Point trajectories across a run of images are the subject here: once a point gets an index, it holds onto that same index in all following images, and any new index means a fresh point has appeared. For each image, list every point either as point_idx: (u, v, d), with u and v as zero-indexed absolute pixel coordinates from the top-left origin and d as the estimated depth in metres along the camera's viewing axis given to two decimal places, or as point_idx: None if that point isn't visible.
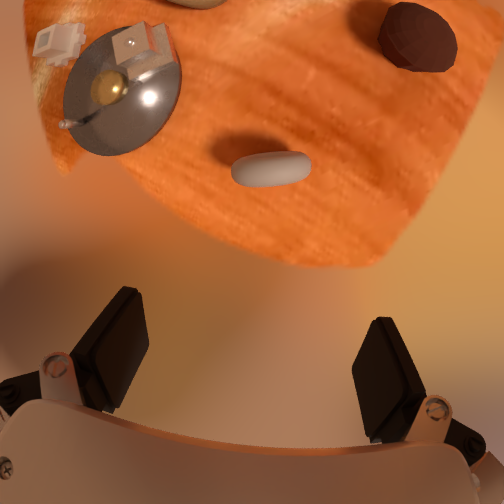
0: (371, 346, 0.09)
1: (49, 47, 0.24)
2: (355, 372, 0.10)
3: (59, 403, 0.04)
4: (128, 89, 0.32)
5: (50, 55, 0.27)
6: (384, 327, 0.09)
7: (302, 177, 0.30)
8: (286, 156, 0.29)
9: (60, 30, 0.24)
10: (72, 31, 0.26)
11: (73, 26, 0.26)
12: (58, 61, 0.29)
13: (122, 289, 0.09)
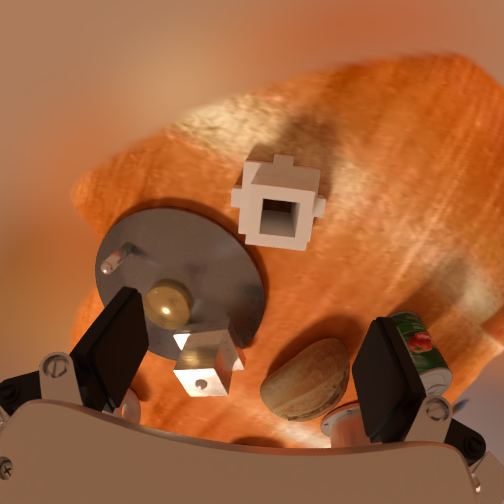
0: (371, 346, 0.09)
1: (248, 241, 0.22)
2: (355, 372, 0.10)
3: (59, 403, 0.04)
4: None
5: None
6: (384, 327, 0.09)
7: None
8: None
9: None
10: None
11: None
12: (239, 199, 0.26)
13: (122, 289, 0.09)
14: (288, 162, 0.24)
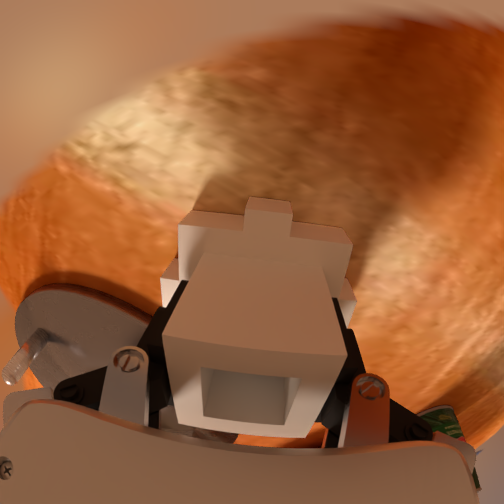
0: None
1: (184, 421, 0.09)
2: None
3: (59, 403, 0.04)
4: None
5: None
6: None
7: None
8: None
9: None
10: None
11: None
12: None
13: (182, 282, 0.10)
14: (279, 226, 0.10)
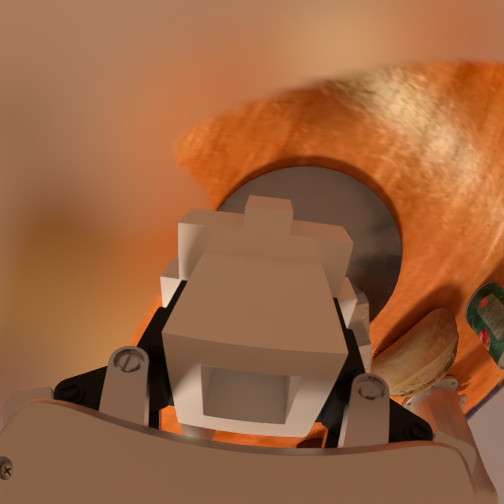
0: None
1: (184, 420, 0.09)
2: None
3: (59, 403, 0.04)
4: None
5: None
6: None
7: None
8: None
9: None
10: None
11: None
12: None
13: (182, 282, 0.10)
14: (279, 225, 0.10)
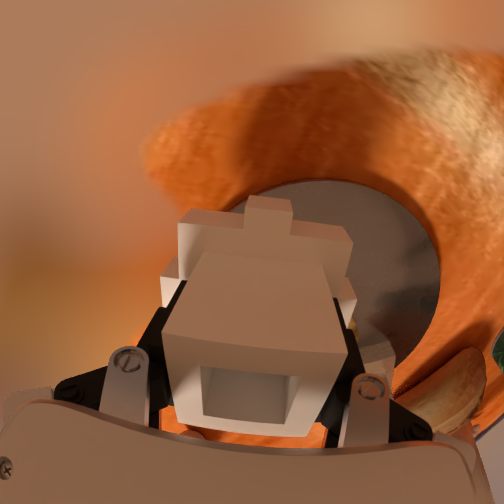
0: None
1: (183, 420, 0.09)
2: None
3: (59, 403, 0.04)
4: None
5: None
6: None
7: None
8: None
9: None
10: None
11: None
12: None
13: (182, 282, 0.10)
14: (279, 225, 0.10)
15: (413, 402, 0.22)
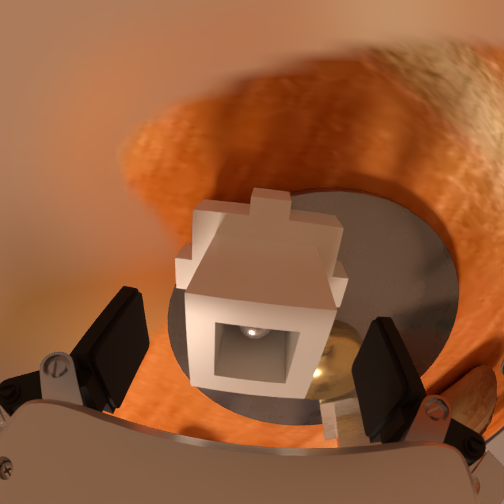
0: (371, 346, 0.09)
1: (196, 382, 0.10)
2: (355, 372, 0.10)
3: (59, 403, 0.04)
4: None
5: None
6: (383, 327, 0.09)
7: None
8: None
9: None
10: None
11: None
12: (189, 277, 0.14)
13: (123, 289, 0.09)
14: (280, 211, 0.12)
15: None
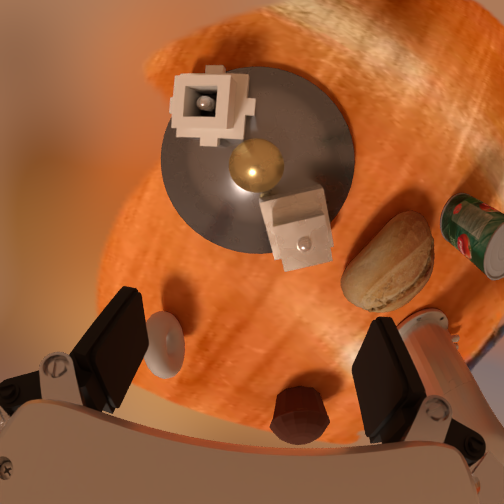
0: (371, 346, 0.09)
1: (174, 125, 0.21)
2: (355, 372, 0.10)
3: (59, 403, 0.04)
4: None
5: None
6: (384, 327, 0.09)
7: None
8: (172, 370, 0.35)
9: None
10: (226, 128, 0.26)
11: (238, 127, 0.26)
12: None
13: (122, 289, 0.09)
14: (218, 70, 0.23)
15: (360, 254, 0.31)
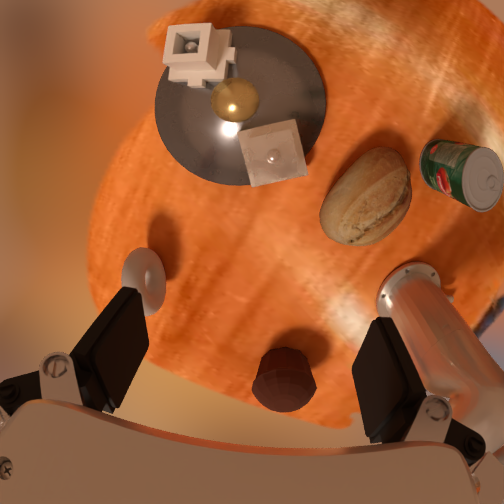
0: (371, 346, 0.09)
1: (164, 60, 0.23)
2: (355, 372, 0.10)
3: (59, 403, 0.04)
4: (231, 123, 0.32)
5: None
6: (384, 327, 0.09)
7: None
8: (149, 305, 0.35)
9: (199, 64, 0.24)
10: (210, 70, 0.27)
11: (220, 69, 0.27)
12: None
13: (122, 289, 0.09)
14: None
15: (335, 184, 0.32)
